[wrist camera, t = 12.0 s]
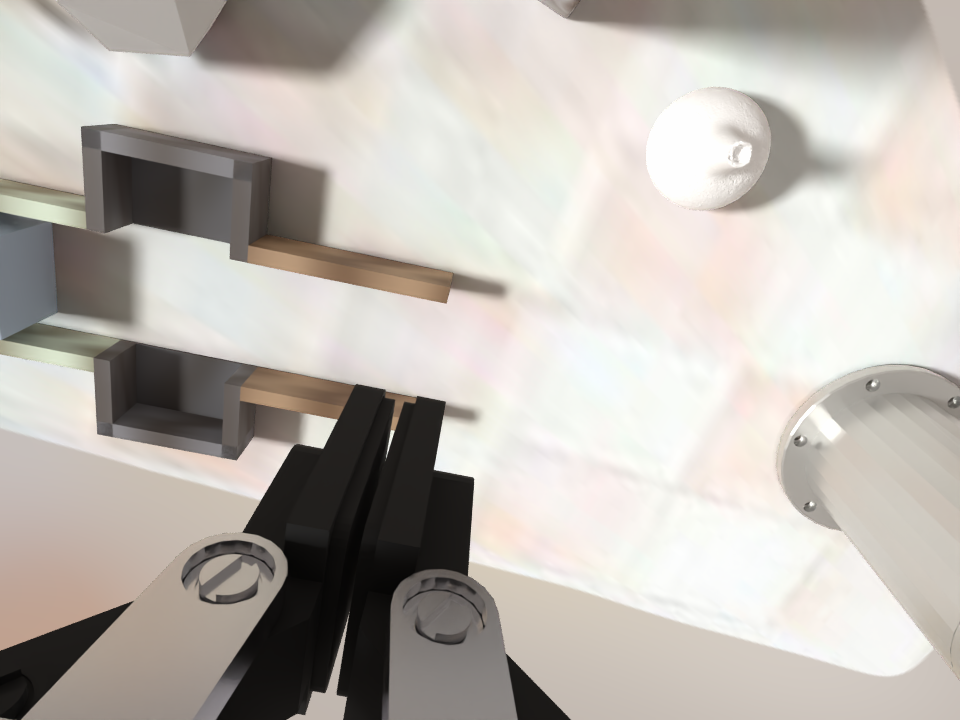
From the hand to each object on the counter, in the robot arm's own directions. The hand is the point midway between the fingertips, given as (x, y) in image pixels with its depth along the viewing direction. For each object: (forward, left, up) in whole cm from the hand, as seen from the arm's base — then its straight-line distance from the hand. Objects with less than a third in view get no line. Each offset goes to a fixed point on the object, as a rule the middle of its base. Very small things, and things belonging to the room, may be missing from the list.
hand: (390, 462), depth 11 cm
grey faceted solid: (+17, -9, -27) cm, 33 cm away
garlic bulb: (-12, -6, -27) cm, 31 cm away
